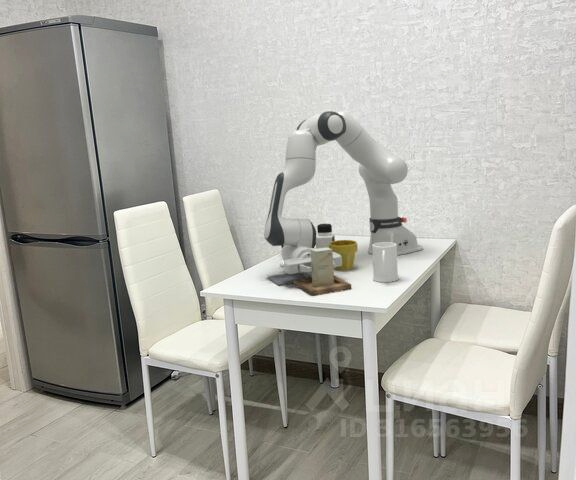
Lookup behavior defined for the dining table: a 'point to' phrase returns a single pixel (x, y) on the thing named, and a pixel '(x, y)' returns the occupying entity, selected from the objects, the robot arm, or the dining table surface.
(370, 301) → the dining table surface
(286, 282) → the mat
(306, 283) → the walnut tray
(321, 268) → the skincare box
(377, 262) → the mug
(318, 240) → the medicine bottle
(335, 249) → the plant pot
